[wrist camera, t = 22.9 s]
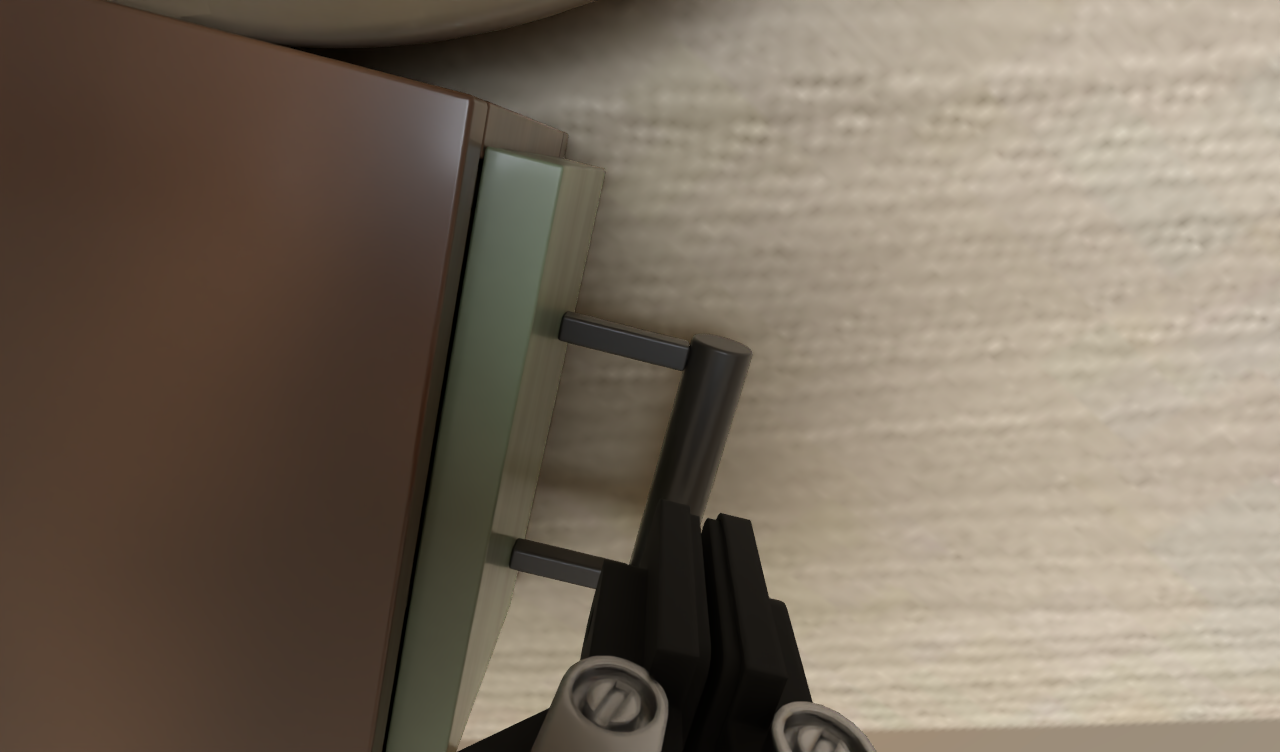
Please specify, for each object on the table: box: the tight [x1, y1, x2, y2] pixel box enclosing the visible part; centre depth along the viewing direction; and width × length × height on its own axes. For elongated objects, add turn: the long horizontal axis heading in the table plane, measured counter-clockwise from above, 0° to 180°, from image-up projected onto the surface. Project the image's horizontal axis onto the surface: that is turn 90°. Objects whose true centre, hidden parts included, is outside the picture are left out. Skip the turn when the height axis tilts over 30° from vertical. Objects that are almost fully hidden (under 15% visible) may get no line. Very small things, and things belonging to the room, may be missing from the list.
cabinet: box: [0, 0, 568, 752], centre depth 15 cm, size 15×14×9 cm
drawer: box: [385, 147, 753, 752], centre depth 15 cm, size 18×13×7 cm
